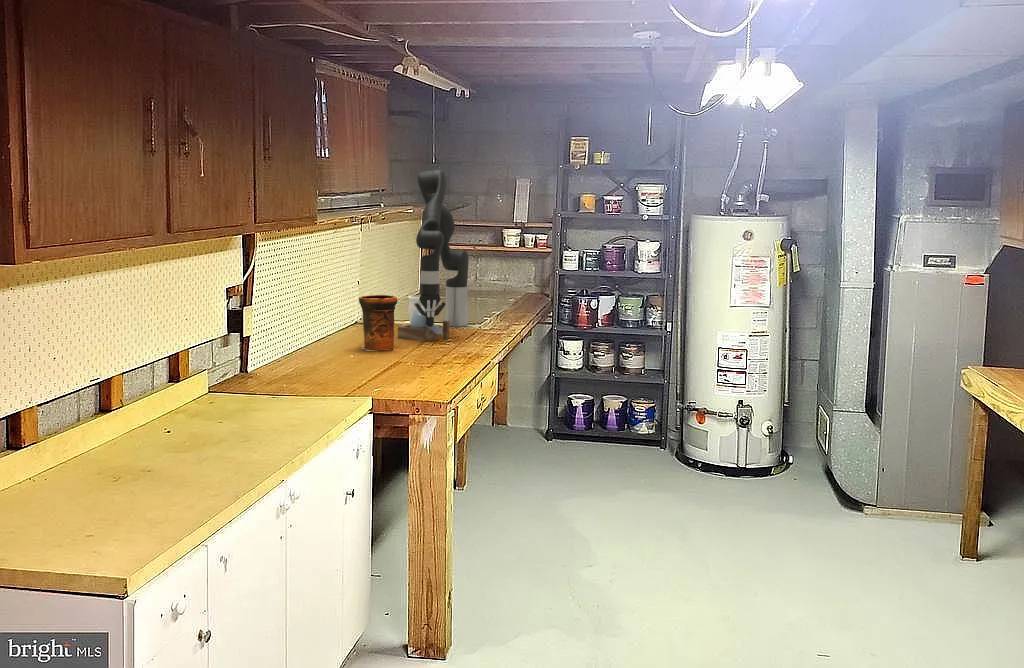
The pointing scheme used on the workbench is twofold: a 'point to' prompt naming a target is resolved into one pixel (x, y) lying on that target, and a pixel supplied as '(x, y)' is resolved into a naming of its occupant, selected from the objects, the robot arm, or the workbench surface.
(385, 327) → the vessel
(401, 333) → the cradle
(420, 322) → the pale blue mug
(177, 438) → the workbench surface
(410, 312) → the jar
